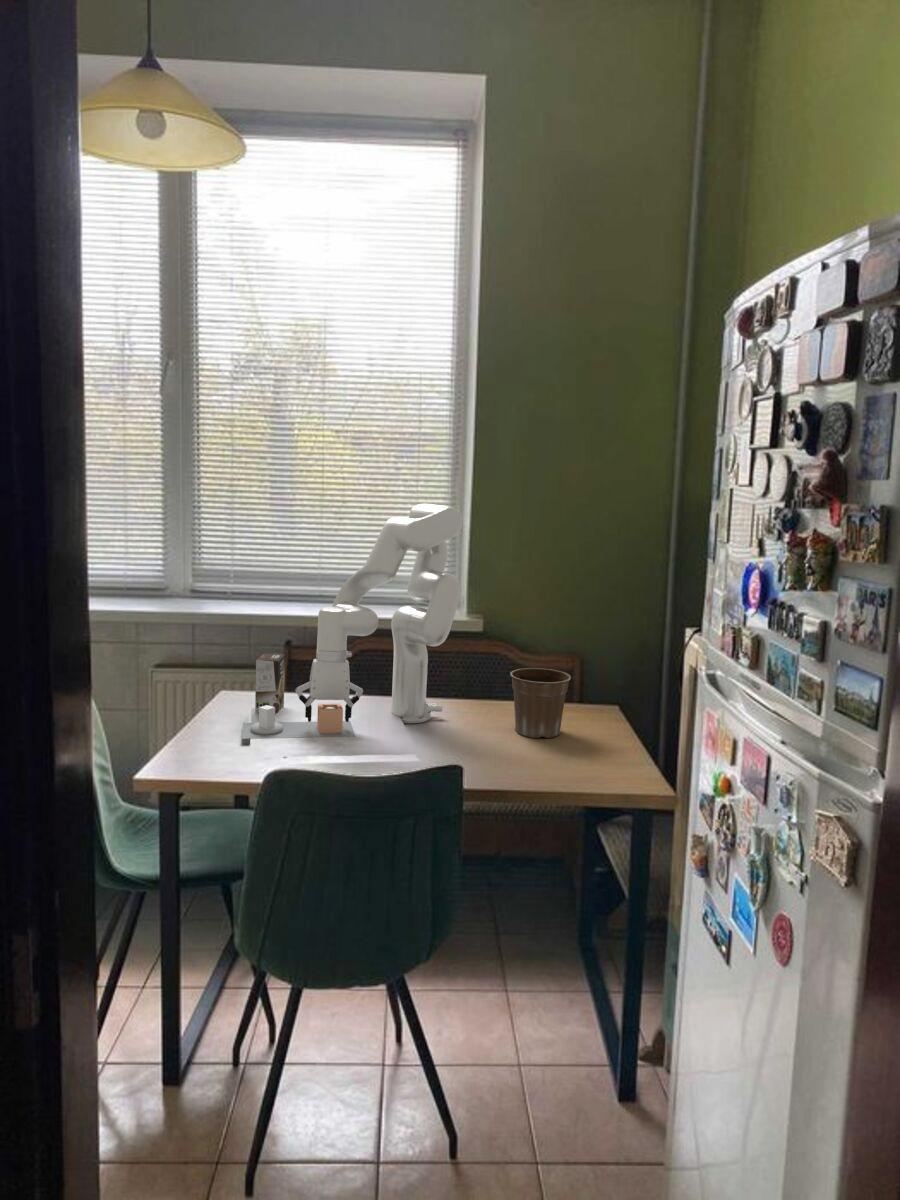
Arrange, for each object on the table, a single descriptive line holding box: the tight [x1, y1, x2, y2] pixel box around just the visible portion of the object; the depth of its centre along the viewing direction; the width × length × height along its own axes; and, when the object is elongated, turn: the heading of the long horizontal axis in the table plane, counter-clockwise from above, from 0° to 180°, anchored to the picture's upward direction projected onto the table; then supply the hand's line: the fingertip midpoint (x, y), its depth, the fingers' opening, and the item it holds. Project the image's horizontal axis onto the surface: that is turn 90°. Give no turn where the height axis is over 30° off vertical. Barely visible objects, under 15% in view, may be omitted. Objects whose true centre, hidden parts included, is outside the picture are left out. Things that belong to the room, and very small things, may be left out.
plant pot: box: [509, 667, 572, 739], centre depth 236 cm, size 16×16×16 cm
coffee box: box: [254, 653, 286, 714], centre depth 241 cm, size 9×6×16 cm
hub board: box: [241, 705, 356, 745], centre depth 224 cm, size 28×13×8 cm, turn 102°
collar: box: [316, 702, 344, 733], centre depth 225 cm, size 6×6×6 cm
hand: (328, 720), depth 225 cm, fingers open, 9 cm apart
